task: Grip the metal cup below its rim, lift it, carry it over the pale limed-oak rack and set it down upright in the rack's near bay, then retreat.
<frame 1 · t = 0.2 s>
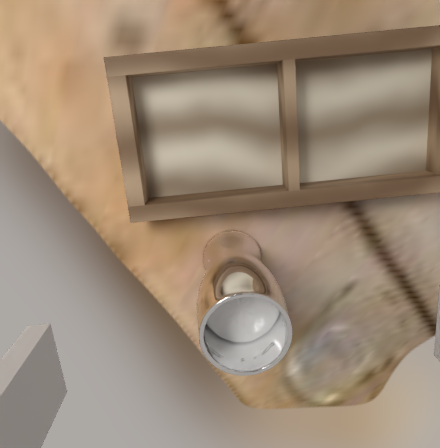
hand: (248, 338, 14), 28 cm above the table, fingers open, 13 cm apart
rack: (282, 125, 39), on the table
metal cup: (231, 257, 43), on the table
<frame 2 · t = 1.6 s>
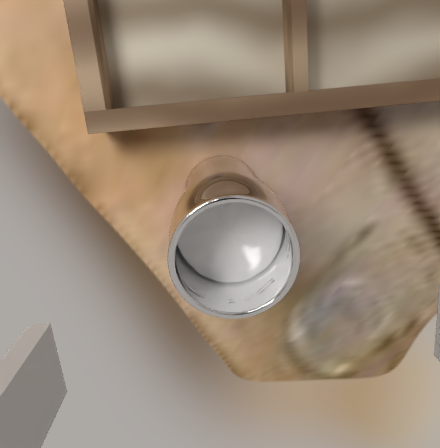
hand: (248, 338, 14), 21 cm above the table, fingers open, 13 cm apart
rack: (286, 14, 30), on the table
metal cup: (221, 191, 34), on the table
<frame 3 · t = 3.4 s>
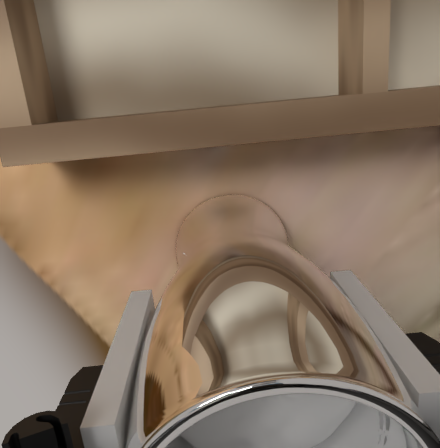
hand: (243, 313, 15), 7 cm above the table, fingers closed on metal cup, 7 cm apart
metal cup: (231, 246, 22), on the table, touching gripper
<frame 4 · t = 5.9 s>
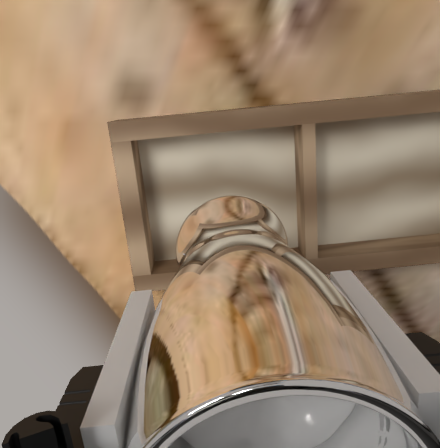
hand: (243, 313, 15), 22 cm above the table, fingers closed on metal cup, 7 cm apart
rack: (298, 184, 36), on the table
metal cup: (231, 247, 22), point 14 cm above the table, touching gripper
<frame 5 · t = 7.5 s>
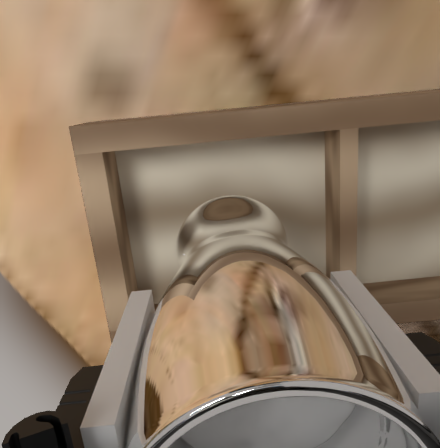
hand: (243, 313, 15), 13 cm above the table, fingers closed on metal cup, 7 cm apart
rack: (327, 206, 28), on the table
metal cup: (231, 247, 22), point 6 cm above the table, touching gripper
when the fingers open (9 cm above the table, at t = 8.6 s): metal cup drops 1 cm, resting on rack.
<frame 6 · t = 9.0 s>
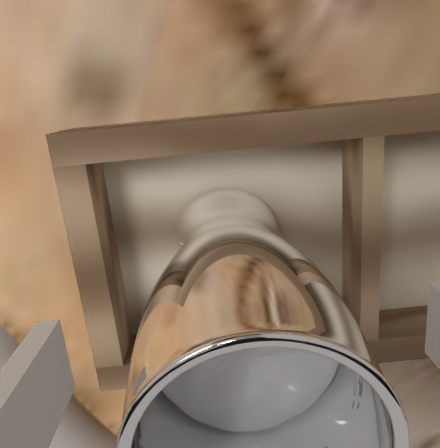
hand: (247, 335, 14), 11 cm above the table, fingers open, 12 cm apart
rack: (343, 222, 24), on the table
metal cup: (226, 238, 23), point 1 cm above the table, touching rack
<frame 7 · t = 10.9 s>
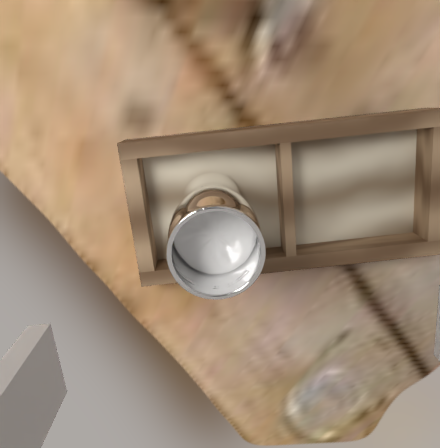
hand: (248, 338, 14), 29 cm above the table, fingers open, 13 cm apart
rack: (280, 192, 42), on the table
metal cup: (211, 201, 41), point 1 cm above the table, touching rack
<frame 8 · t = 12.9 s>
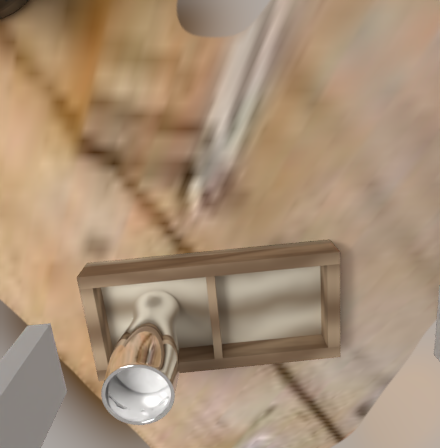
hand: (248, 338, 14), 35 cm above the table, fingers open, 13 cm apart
rack: (213, 302, 52), on the table
metal cup: (157, 311, 51), point 1 cm above the table, touching rack
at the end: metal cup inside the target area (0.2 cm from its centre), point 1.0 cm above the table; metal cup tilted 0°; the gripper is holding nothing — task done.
